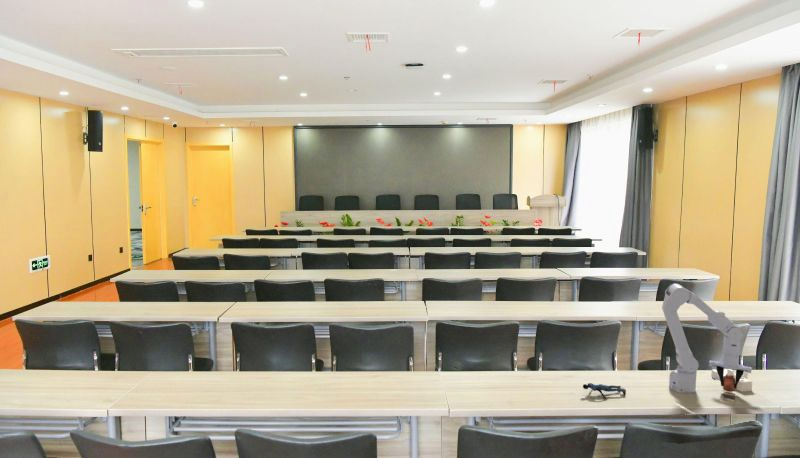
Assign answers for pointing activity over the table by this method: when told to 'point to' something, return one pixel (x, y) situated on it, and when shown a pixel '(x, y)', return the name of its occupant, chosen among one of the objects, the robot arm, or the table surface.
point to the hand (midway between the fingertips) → (728, 386)
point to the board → (727, 397)
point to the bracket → (726, 371)
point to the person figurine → (604, 388)
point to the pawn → (729, 383)
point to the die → (744, 384)
